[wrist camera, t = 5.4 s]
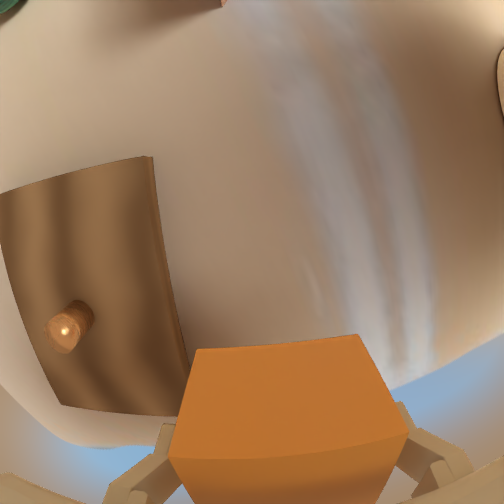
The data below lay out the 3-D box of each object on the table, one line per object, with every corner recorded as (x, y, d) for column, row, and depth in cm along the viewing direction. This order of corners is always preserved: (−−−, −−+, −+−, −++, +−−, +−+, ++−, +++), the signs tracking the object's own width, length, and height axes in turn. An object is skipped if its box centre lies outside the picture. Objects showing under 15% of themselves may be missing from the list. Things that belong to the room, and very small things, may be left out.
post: (89, 299, 19) (65, 322, 15) (98, 329, 19) (77, 354, 16) (64, 300, 19) (39, 321, 15) (73, 328, 20) (51, 352, 16)
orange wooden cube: (357, 333, 10) (409, 431, 6) (344, 432, 12) (367, 515, 7) (196, 348, 11) (167, 456, 6) (221, 444, 12) (212, 530, 8)
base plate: (152, 157, 18) (142, 156, 16) (198, 401, 24) (195, 416, 22) (7, 193, 18) (-8, 196, 17) (69, 392, 24) (61, 404, 22)
